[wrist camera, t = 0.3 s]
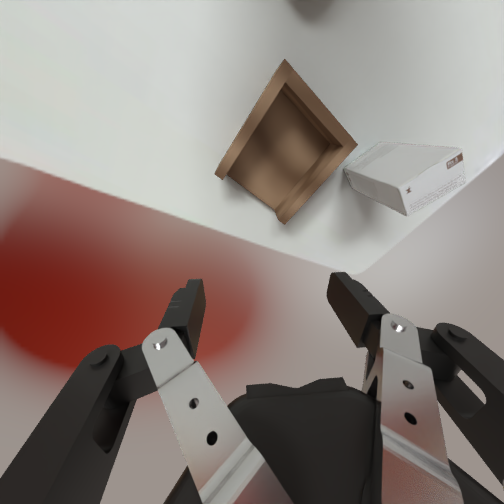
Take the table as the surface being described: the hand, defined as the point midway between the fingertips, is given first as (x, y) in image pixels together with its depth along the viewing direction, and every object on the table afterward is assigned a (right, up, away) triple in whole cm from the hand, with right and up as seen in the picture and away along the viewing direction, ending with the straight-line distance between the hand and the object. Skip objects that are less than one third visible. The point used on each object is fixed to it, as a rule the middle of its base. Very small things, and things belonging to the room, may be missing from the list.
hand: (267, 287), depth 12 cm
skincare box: (+17, +16, +17) cm, 29 cm away
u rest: (+3, +16, +16) cm, 23 cm away
